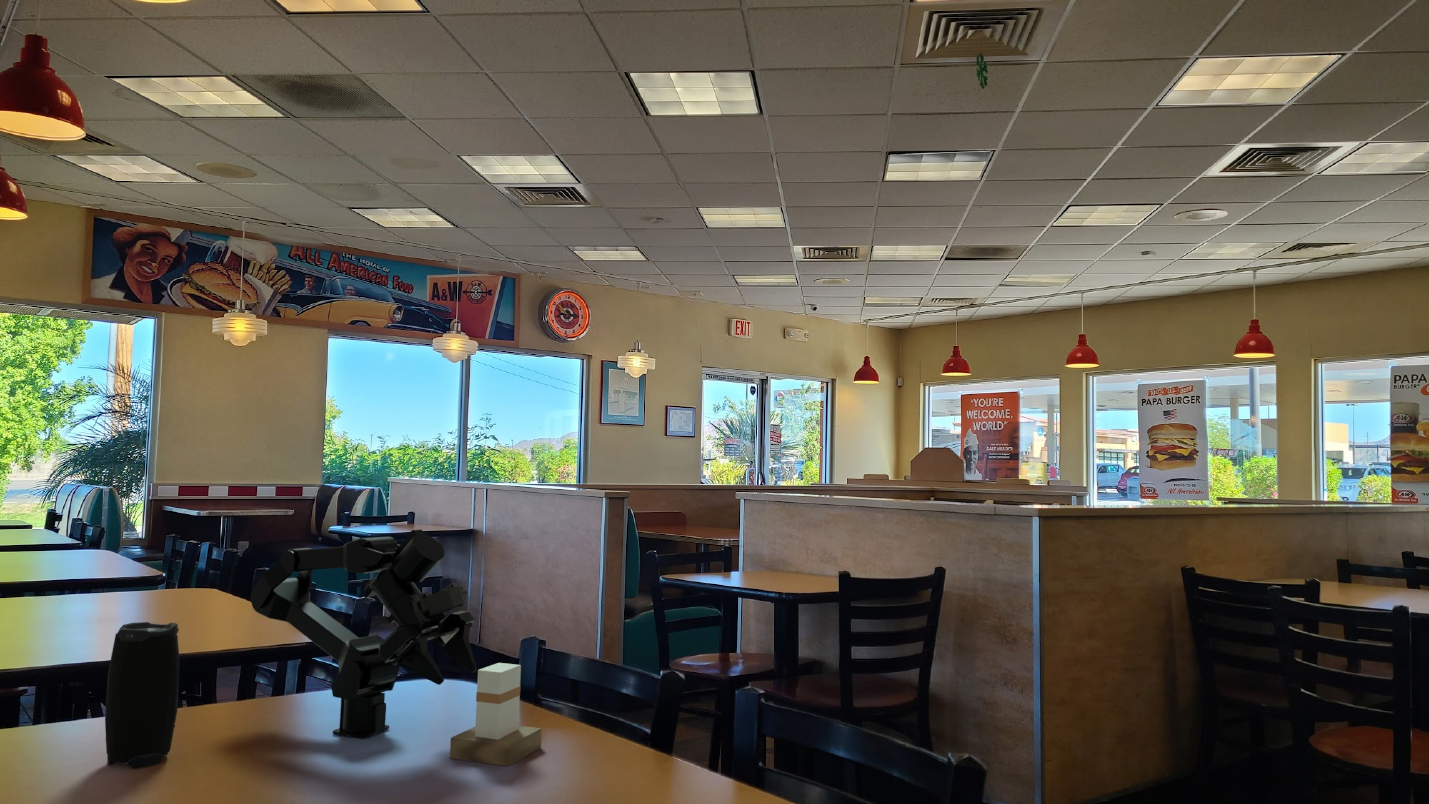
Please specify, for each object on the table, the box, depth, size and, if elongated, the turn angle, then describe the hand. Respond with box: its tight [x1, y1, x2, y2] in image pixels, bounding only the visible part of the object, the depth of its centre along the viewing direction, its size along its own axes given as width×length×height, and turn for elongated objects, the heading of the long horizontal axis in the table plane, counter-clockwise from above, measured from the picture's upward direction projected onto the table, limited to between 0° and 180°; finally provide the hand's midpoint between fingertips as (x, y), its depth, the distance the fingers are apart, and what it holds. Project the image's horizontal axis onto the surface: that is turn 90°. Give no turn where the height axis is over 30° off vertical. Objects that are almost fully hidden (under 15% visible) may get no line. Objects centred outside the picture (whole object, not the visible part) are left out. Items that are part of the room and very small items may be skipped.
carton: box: [474, 662, 522, 740], centre depth 147 cm, size 4×6×10 cm
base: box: [449, 725, 542, 767], centre depth 146 cm, size 10×10×3 cm
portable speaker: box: [104, 621, 181, 770], centre depth 138 cm, size 9×9×20 cm
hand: (458, 676), depth 149 cm, fingers open, 9 cm apart
